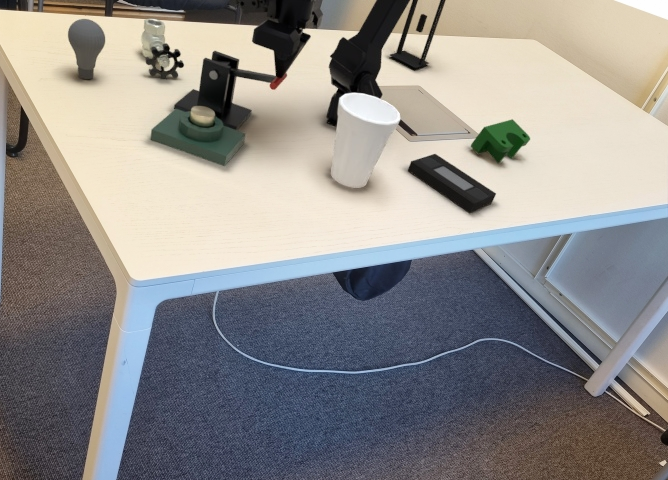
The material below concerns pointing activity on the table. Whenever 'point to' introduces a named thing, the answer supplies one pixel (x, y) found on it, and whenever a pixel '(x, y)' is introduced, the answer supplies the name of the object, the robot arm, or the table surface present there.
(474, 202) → the vhs tape
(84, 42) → the light bulb
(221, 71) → the bracket
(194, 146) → the button box
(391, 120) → the cup
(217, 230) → the table surface
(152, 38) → the valve
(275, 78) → the lever
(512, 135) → the clamp
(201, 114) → the button
